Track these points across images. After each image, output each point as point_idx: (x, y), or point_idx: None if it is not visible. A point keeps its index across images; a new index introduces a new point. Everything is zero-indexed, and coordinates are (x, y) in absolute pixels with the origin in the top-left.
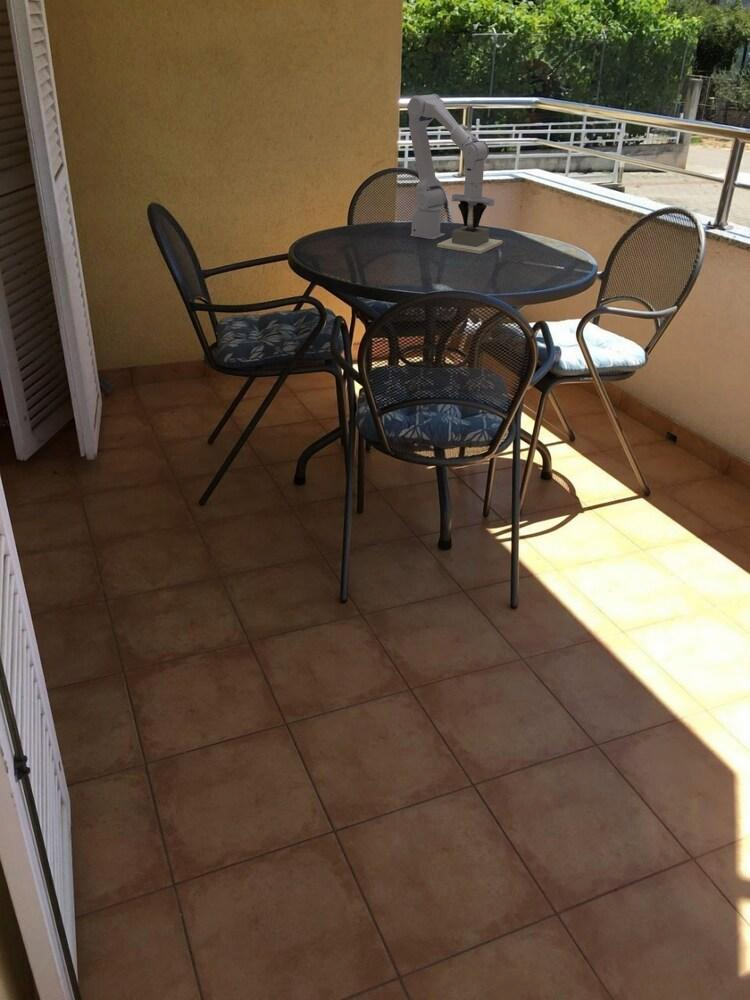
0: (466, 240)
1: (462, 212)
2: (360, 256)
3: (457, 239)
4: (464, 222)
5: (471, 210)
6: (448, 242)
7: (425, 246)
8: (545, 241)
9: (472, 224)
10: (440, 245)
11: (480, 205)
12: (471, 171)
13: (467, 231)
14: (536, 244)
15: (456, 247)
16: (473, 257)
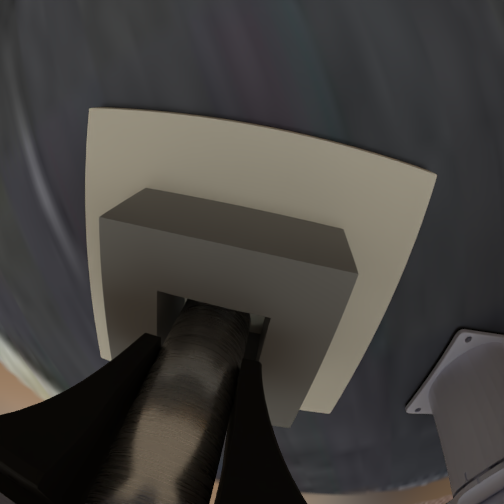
0: (212, 213)
1: (264, 465)
2: None
3: (297, 230)
4: (251, 380)
5: (127, 468)
6: (369, 239)
7: (491, 178)
8: (43, 391)
9: (164, 354)
10: (410, 164)
11: (12, 480)
12: None
13: (210, 290)
14: (35, 360)
15: (275, 129)
16: (120, 29)
